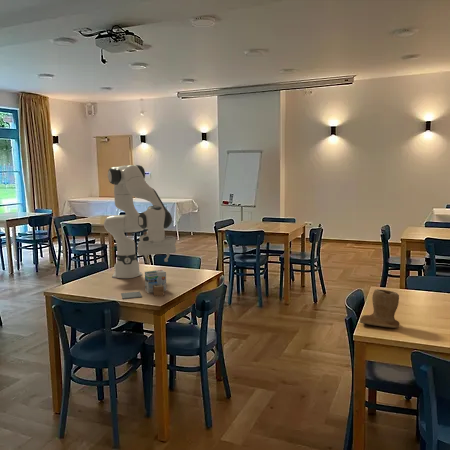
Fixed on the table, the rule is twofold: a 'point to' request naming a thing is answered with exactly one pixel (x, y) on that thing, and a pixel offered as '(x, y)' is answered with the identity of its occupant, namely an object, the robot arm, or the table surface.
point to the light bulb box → (154, 279)
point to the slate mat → (131, 295)
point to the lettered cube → (158, 290)
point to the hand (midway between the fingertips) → (157, 262)
